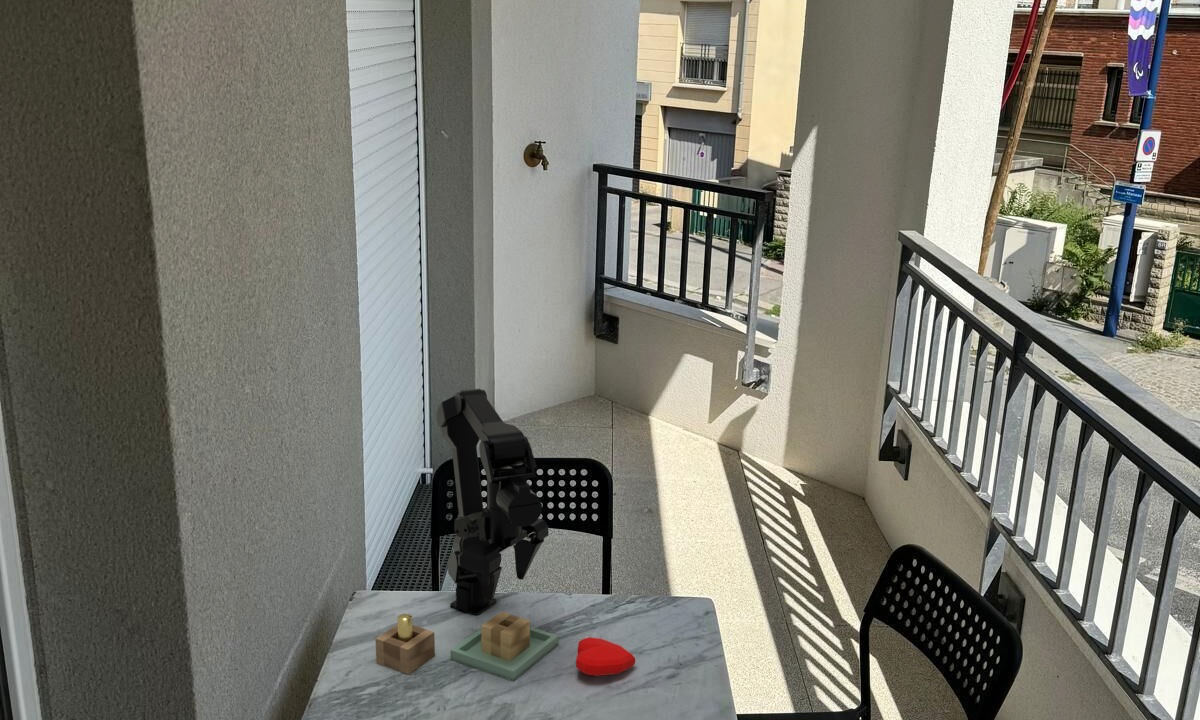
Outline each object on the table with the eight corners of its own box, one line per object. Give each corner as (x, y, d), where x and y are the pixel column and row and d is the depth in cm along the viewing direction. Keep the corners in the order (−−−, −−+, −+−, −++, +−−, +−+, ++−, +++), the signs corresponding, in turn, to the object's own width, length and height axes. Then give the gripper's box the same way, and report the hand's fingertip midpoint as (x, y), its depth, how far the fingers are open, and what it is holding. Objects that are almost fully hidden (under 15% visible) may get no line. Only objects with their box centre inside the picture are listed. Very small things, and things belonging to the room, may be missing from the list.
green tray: (498, 625, 199) (498, 616, 199) (558, 644, 193) (558, 635, 192) (450, 659, 187) (450, 650, 187) (513, 681, 181) (513, 671, 181)
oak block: (501, 637, 194) (501, 611, 193) (529, 646, 191) (529, 620, 190) (481, 651, 189) (481, 625, 188) (510, 661, 186) (510, 635, 185)
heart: (633, 660, 191) (577, 652, 192) (636, 637, 191) (580, 629, 191) (633, 687, 180) (573, 679, 180) (637, 662, 179) (576, 654, 179)
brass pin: (416, 658, 188) (414, 615, 185) (407, 664, 186) (405, 621, 183) (405, 654, 189) (403, 612, 187) (396, 660, 187) (394, 618, 185)
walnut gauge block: (403, 645, 192) (402, 621, 191) (434, 656, 188) (434, 631, 187) (376, 662, 186) (375, 638, 185) (408, 674, 182) (407, 649, 181)
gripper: (497, 477, 195) (498, 558, 199) (431, 512, 179) (433, 599, 183) (550, 490, 189) (549, 572, 193) (486, 527, 174) (487, 616, 178)
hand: (505, 589), depth 187 cm, fingers open, 9 cm apart
